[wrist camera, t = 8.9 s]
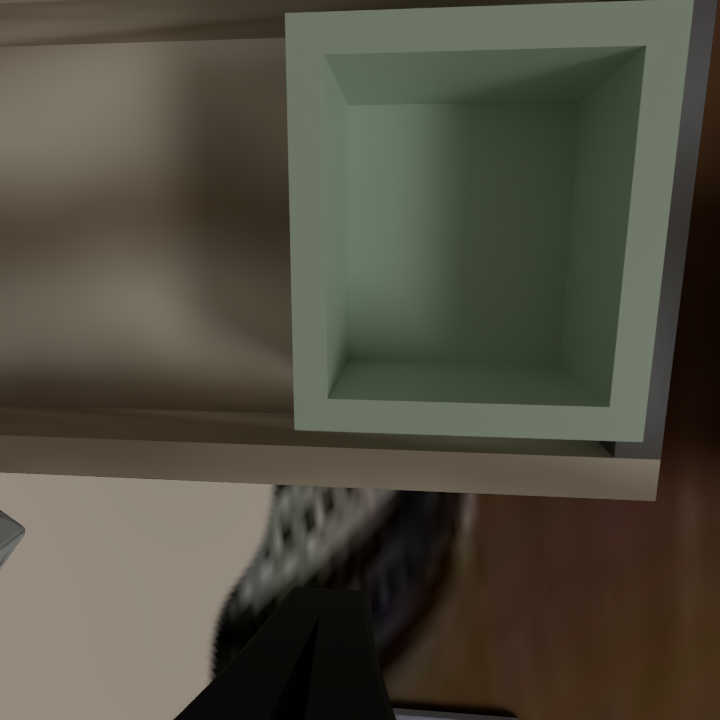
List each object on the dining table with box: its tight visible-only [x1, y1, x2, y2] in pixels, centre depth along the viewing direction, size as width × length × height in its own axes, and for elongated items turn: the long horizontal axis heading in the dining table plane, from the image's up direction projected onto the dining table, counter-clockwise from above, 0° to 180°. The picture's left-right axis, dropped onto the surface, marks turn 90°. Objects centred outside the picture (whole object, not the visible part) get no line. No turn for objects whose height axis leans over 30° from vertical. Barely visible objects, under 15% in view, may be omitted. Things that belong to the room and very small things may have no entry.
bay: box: [0, 0, 717, 501], centre depth 17 cm, size 14×22×4 cm, turn 90°
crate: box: [285, 0, 694, 442], centre depth 14 cm, size 9×8×5 cm
